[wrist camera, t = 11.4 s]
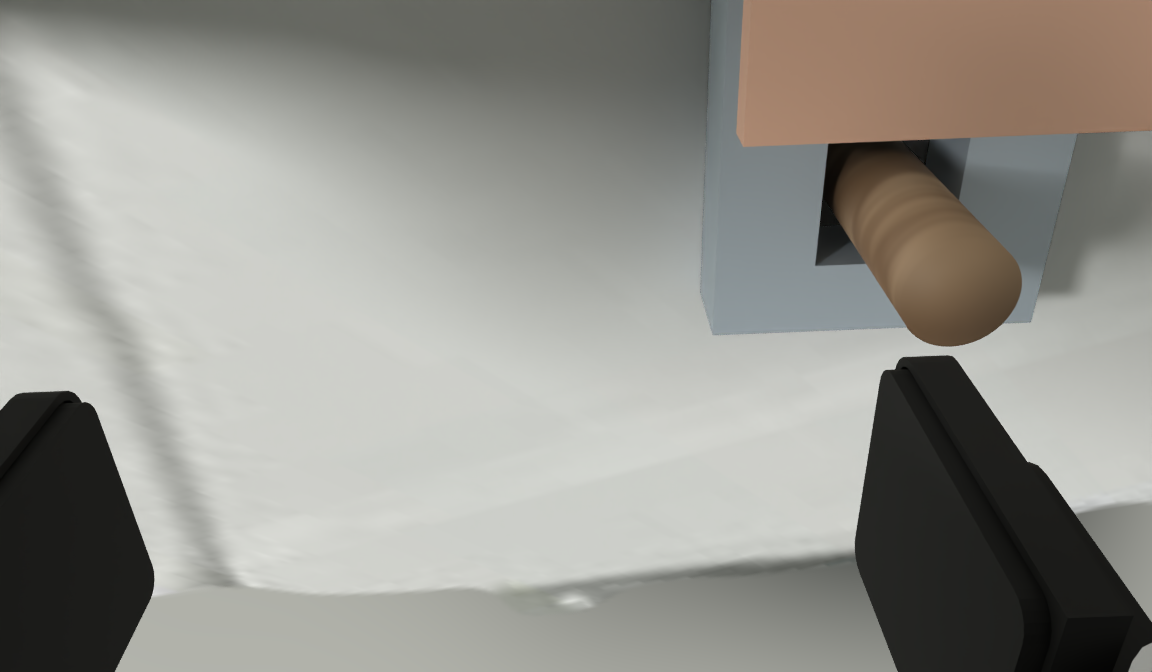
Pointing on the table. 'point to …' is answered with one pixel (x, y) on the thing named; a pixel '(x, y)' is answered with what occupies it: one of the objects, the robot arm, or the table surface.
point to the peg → (920, 243)
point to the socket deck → (823, 259)
